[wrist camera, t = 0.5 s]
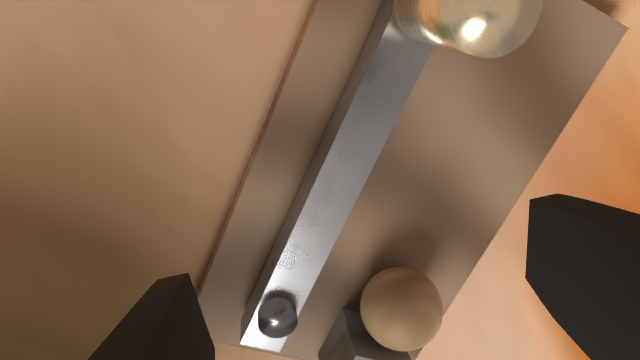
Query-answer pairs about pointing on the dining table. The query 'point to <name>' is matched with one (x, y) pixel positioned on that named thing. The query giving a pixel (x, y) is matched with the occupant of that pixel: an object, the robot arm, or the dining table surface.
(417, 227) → the base
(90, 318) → the dining table surface
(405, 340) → the tan wooden ball
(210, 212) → the dining table surface
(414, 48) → the lever
